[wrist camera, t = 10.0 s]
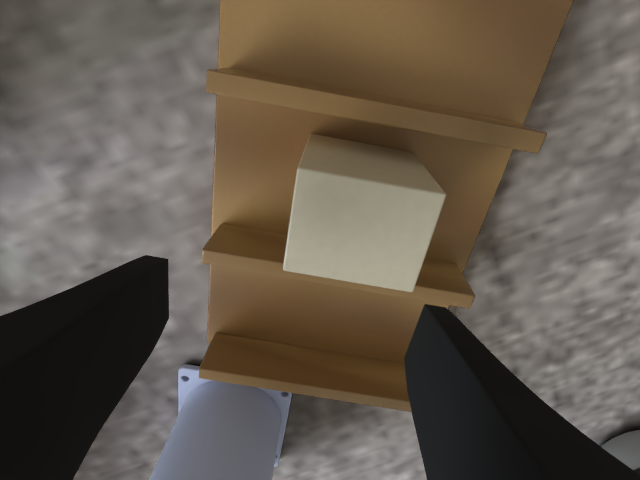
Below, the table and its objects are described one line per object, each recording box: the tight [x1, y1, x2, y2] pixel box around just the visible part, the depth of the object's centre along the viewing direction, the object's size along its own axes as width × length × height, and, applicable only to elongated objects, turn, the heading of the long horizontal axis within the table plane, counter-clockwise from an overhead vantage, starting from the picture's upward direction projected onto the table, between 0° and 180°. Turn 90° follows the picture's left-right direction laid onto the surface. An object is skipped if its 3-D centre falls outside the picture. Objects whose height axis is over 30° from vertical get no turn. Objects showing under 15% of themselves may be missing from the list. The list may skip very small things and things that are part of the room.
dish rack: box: [199, 0, 574, 412], centre depth 17 cm, size 24×14×4 cm, turn 170°
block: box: [283, 134, 446, 292], centre depth 15 cm, size 4×5×6 cm
